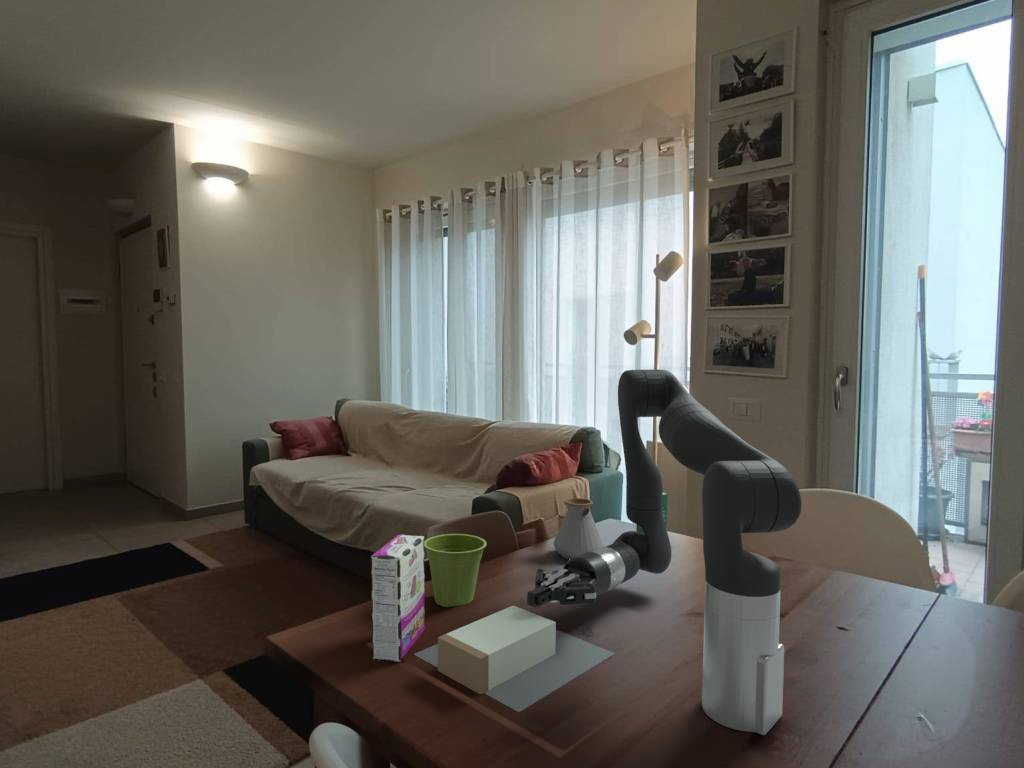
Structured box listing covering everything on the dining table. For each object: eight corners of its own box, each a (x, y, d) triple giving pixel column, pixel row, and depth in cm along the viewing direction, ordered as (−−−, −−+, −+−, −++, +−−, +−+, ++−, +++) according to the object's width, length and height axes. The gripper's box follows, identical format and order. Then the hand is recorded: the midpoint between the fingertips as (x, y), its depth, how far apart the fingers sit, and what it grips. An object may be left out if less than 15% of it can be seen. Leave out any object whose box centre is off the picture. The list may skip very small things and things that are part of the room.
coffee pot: (551, 548, 150) (552, 486, 149) (599, 548, 150) (600, 487, 149) (558, 580, 128) (559, 508, 128) (614, 580, 128) (615, 509, 128)
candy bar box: (397, 628, 105) (397, 533, 104) (425, 631, 104) (426, 535, 103) (369, 660, 94) (369, 554, 93) (400, 664, 93) (400, 556, 92)
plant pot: (471, 618, 110) (472, 555, 109) (411, 608, 113) (412, 548, 113) (495, 593, 121) (495, 537, 120) (439, 585, 125) (440, 530, 124)
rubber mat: (615, 657, 96) (615, 653, 96) (518, 716, 80) (518, 712, 80) (511, 614, 111) (511, 611, 111) (413, 658, 95) (413, 654, 95)
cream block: (555, 622, 95) (480, 658, 84) (555, 653, 96) (480, 694, 84) (513, 605, 102) (437, 637, 90) (512, 635, 102) (437, 670, 90)
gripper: (565, 543, 115) (500, 566, 102) (627, 560, 106) (563, 588, 93) (565, 583, 115) (500, 611, 102) (626, 603, 106) (563, 637, 93)
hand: (530, 600), depth 98 cm, fingers closed
